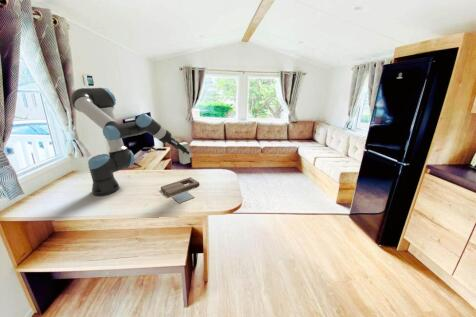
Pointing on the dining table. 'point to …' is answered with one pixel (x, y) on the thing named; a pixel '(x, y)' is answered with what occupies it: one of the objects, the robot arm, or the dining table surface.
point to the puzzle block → (183, 156)
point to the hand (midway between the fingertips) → (189, 154)
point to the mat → (183, 197)
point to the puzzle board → (179, 186)
